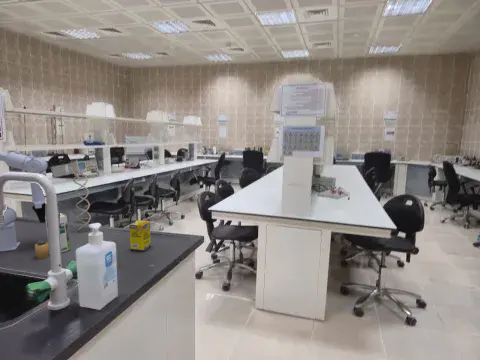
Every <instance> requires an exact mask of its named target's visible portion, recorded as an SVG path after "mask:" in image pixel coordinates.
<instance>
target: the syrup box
mask: <svg viewBox="0 0 480 360" xmlns="http://www.w3.org/2000/svg"><path fill="white" fill-rule="evenodd" d="M45 221H46V217H45ZM45 227H46V237H47V238H48V228H47V221H46V222H45ZM59 228H60V244H61V253H64V252H67V251H70V250H71V245H70V236H69V235H70V233H69V225H68V217H67V214H64V213H61V212H60V224H59Z"/></svg>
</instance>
